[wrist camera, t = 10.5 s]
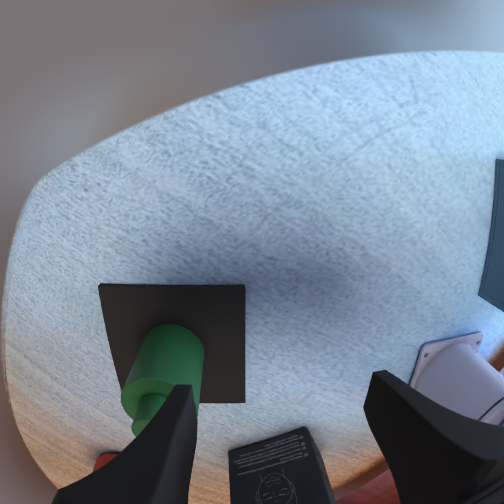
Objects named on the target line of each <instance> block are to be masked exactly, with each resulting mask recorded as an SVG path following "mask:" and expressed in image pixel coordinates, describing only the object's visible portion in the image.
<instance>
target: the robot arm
mask: <svg viewBox="0 0 504 504" xmlns="http://www.w3.org/2000/svg"><path fill="white" fill-rule="evenodd" d="M482 338H483V334H482V333H481V332H478V333H474V334H470V335H466V336H461V337H457V338H452V339H447V340H442V341H437V342H432V343H427V344H425V345H424V346H423V347H422V349H421V352H420V355H419V359H418V362H417V365H416V368H415V371H414V374H413V377H412V380H411V383H410V386H409V385H408V384H406V383H405V382H403V381H402V380H400V379H399V378H397V377H396V376H394V375H393V374H391V373H390V372H388V371H387V370H383V371H377V372H373V374H372V378H371V381H370V385H369V389H368V393H367V396H366V400H365V403H364V407H363V408H364V411H365V415H366V418H367V421H368V424H369V427H370V429H371V431H372V433H373V435H374V437H375V439H376V441H377V443H378V445H379V447H380V449H381V451H382V453H383V455H384V457H385V459H386V461H387V463H388V465H389V468H390V470H391V472H392V475H393V478H394V481H395V485H396V488H397V491H398V495H399V498H400V502H401V504H504V377H503V376H502V375H501V374H500V373H499V372H498V371H497V370H495V369H494V368H493V367H492V366H491V365H490V364H489V363H488V362H487V361H486V360H484V359H483V358H482V357H481V356H480V355H479V354H478V353H477V352H478V349H479V346H480V344H481V341H482ZM425 353H426V354H425ZM424 354H425V355H424ZM196 442H197V414H196V408H195V401H194V395H193V388H192V385H185V384H176V385H175V386H174V387H173V389H172V391H171V392H170V394H169V395H168V397H167V399H166V400H165V402H164V403H163V404H162V406H161V407H160V409H159V410H158V411H157V413H156V414H155V415H154V417H153V418H152V419H151V421H150V422H149V423H148V424H147V425H146V427H145V428H144V429H143V430H142V431H141V432H140V434H139V435H138V436H137V437H136V438H135V439H134V440H133V441H132V442H131V443H130V444H129V445H128V446H127V447H126V448H125V449H124V450H122V451H121V452H120V453H119V454H118V455H116V456H115V457H114V458H113V459H111V460H110V461H109V462H108V463H106V464H105V465H103V466H102V467H100V468H99V469H97V470H96V471H94V472H92V473H91V474H89V475H88V476H86V477H84V478H82V479H81V480H79V481H76V482H74V483H72V484H70V485H68V486H66V487H64V488H61V489H59V490H58V492H57V494H56V495H55V497H54V499H53V502H52V504H188V493H189V484H190V478H191V472H192V466H193V460H194V454H195V448H196Z"/></svg>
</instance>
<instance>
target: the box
mask: <svg viewBox="0 0 504 504" xmlns="http://www.w3.org/2000/svg"><path fill="white" fill-rule="evenodd" d="M228 457H229V482H230V502H231V504H336V501H335V498H334V494H333V491H332V488H331V485H330V482H329V479H328V475H327V472H326V469H325V466H324V462H323V459H322V456H321V454H320V452H319V450H318V448H317V447H316V445H315V443H314V441H313V439H312V437H311V435H310V433H309V431H308V430H307V428H302V429H299V430H296V431H294V432H291V433H288V434H286V435H282V436H280V437H277V438H274V439H271V440H268V441H265V442H261V443H258V444H255V445H251V446H248V447H244V448H241V449H237V450H233V451H230V452H228Z"/></svg>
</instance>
